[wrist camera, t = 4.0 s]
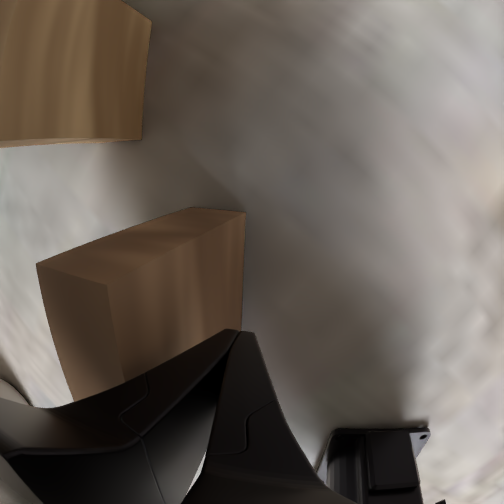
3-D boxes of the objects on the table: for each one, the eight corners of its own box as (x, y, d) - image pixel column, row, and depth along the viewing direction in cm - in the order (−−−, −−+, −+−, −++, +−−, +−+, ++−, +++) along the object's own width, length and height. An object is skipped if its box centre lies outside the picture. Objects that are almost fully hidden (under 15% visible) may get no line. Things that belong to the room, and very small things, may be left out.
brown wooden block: (246, 212, 13) (106, 285, 5) (240, 339, 14) (151, 467, 7) (186, 206, 13) (31, 262, 6) (189, 327, 15) (84, 432, 8)
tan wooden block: (152, 21, 11) (35, -48, 3) (141, 139, 13) (-7, 141, 5) (106, 33, 11) (-13, -12, 4) (95, 143, 13) (-44, 154, 6)
